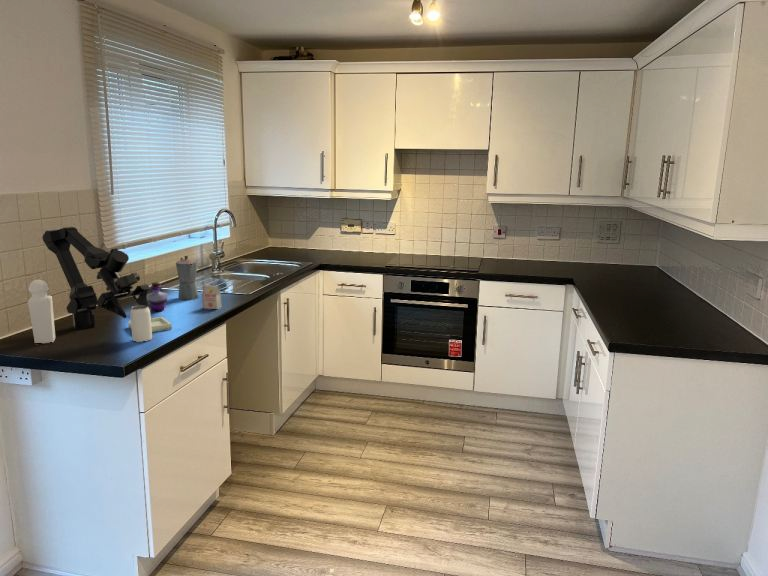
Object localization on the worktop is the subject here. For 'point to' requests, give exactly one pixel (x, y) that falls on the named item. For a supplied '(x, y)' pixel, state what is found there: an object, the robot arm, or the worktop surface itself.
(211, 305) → the cream paper food packet
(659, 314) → the worktop surface
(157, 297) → the potion bottle
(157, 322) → the tray
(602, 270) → the worktop surface
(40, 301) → the white bottle
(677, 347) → the worktop surface
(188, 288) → the moka pot
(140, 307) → the can
